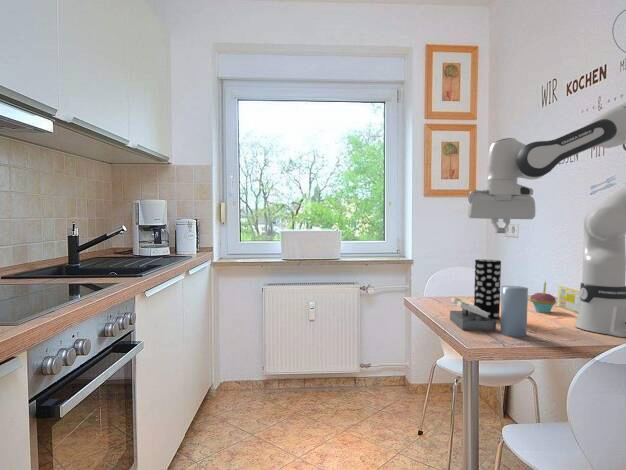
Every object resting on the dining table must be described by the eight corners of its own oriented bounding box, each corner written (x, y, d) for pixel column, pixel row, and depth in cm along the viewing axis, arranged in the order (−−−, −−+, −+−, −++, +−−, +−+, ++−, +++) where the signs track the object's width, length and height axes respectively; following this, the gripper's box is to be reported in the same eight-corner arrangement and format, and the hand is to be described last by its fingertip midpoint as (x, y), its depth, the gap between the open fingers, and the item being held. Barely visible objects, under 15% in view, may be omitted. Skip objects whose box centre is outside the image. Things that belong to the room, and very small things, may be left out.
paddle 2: (483, 315, 131) (485, 310, 131) (487, 317, 127) (489, 312, 127) (456, 304, 131) (458, 300, 131) (459, 307, 128) (461, 302, 128)
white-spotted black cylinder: (497, 315, 147) (498, 259, 147) (501, 320, 139) (502, 262, 139) (472, 313, 149) (473, 259, 149) (475, 318, 141) (476, 261, 141)
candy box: (588, 315, 150) (589, 292, 150) (582, 315, 150) (583, 292, 150) (561, 306, 166) (562, 286, 166) (556, 306, 166) (557, 285, 166)
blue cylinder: (520, 331, 126) (521, 285, 125) (530, 337, 119) (532, 289, 118) (496, 330, 126) (498, 285, 126) (506, 337, 119) (507, 289, 119)
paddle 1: (475, 310, 138) (477, 305, 138) (479, 312, 134) (481, 308, 134) (450, 300, 138) (452, 296, 138) (453, 302, 135) (455, 298, 135)
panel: (479, 320, 140) (480, 306, 139) (495, 330, 126) (496, 316, 125) (449, 319, 140) (450, 305, 140) (462, 330, 126) (462, 315, 126)
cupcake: (559, 314, 150) (560, 282, 150) (534, 313, 151) (535, 281, 151) (549, 309, 158) (550, 278, 158) (526, 308, 160) (527, 278, 159)
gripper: (471, 189, 129) (470, 232, 129) (538, 189, 128) (537, 234, 128) (465, 190, 135) (464, 232, 136) (529, 191, 134) (527, 233, 135)
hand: (500, 233), depth 132 cm, fingers closed
